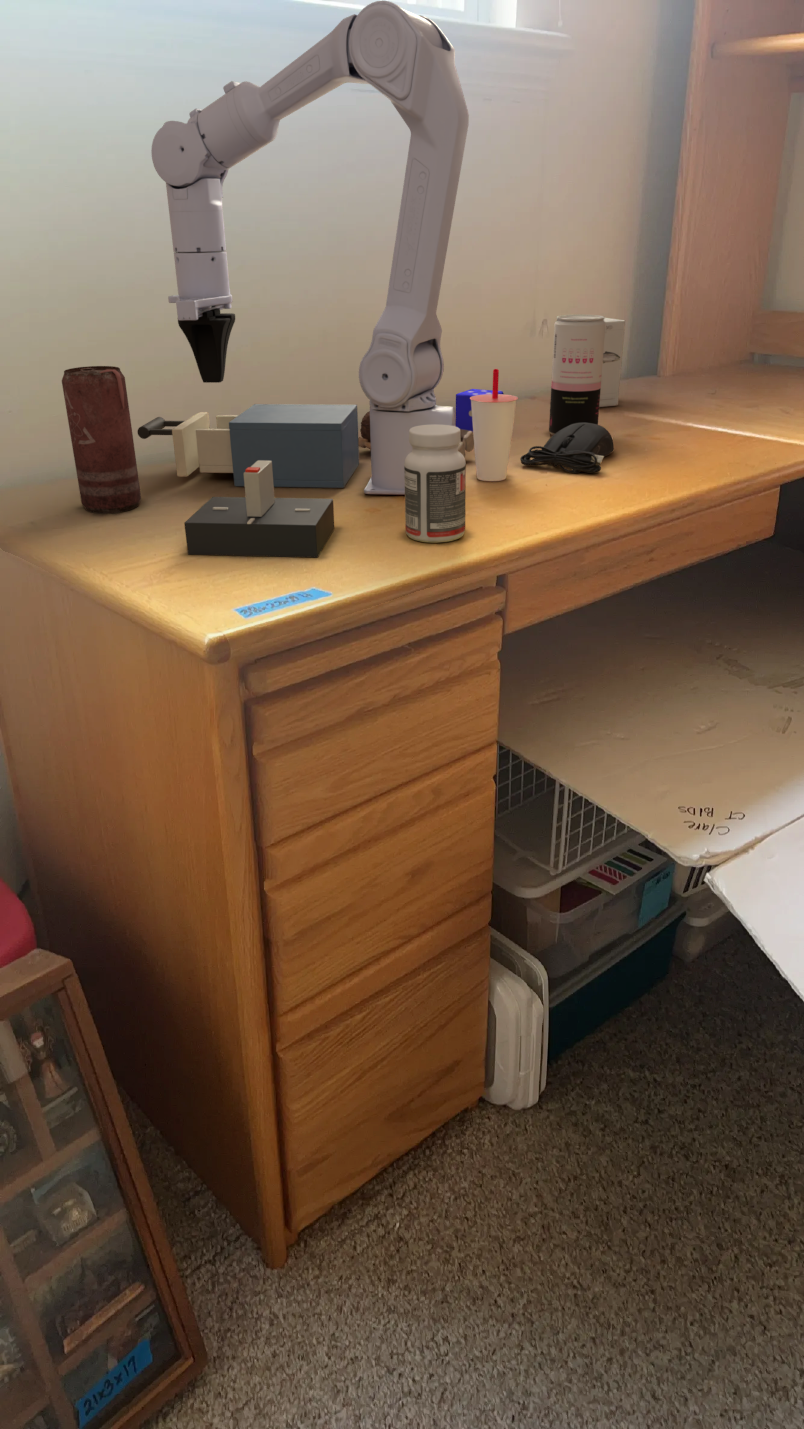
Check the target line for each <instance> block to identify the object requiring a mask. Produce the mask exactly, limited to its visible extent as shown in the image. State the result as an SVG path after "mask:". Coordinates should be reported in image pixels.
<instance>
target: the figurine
mask: <svg viewBox="0 0 804 1429" xmlns="http://www.w3.org/2000/svg"><path fill="white" fill-rule="evenodd" d="M359 429H360V436H358V442H359V448H363V449H369V450H371V439H370V410H369V411H367V412H366V413H365V414H364V415H363V417H362V418H361V421H360V428H359ZM460 439H461V442H460V443H459V445H458V451H459V452H460V453H461V454H462V455H463V456H464V458H465V459H466V452H468V453H470V452H472V451H473V449H474V435H473V431H469V430H464V429H460Z"/></svg>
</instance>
